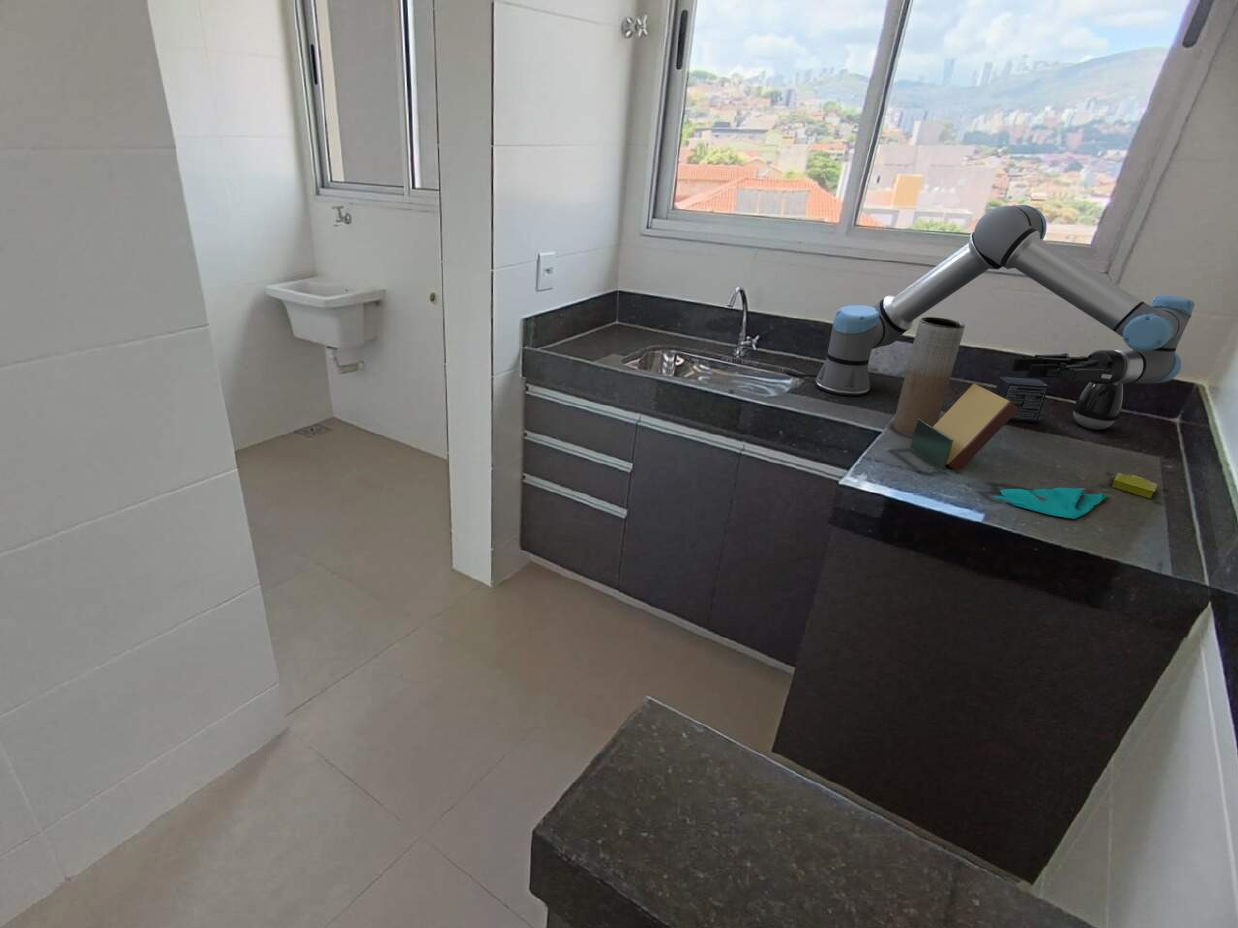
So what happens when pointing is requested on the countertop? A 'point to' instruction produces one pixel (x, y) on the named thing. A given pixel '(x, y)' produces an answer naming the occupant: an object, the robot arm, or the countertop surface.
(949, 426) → the book
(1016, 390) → the small box
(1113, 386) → the black rounded dome
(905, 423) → the vase
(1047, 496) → the cloth
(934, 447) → the bookend
